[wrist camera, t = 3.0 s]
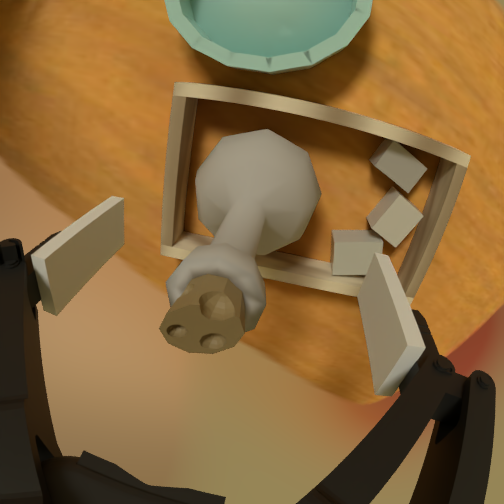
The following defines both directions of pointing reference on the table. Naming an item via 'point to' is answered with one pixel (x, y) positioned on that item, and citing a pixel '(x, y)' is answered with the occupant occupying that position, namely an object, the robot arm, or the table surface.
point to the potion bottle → (238, 237)
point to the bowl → (268, 30)
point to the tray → (287, 264)
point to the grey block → (353, 251)
